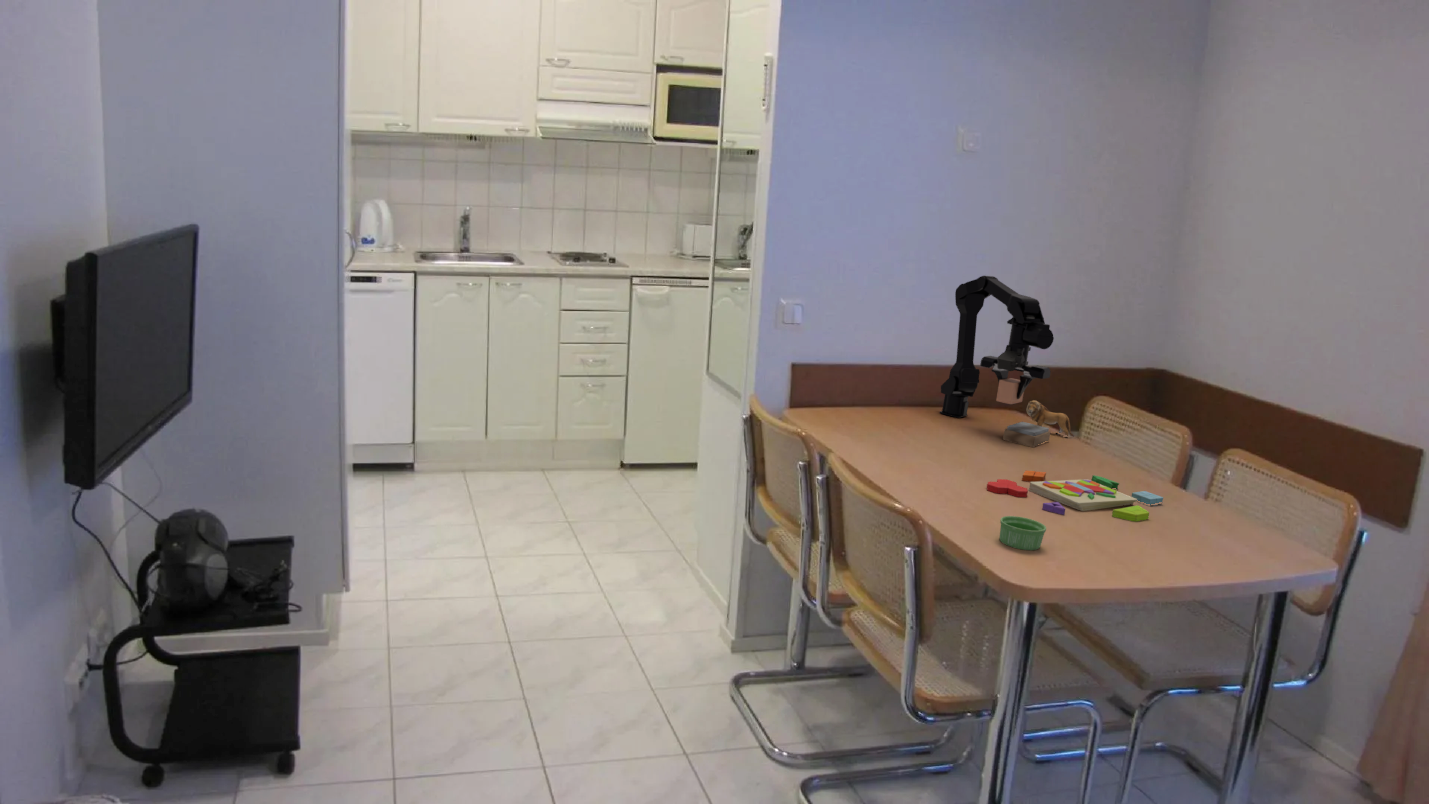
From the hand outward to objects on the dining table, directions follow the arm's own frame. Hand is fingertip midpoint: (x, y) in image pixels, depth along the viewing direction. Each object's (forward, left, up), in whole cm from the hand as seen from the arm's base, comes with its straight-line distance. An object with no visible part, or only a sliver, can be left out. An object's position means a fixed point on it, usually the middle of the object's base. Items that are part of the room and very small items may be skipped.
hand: (1010, 397), depth 326 cm
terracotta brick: (0, 0, -1) cm, 1 cm away
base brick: (+6, +2, -12) cm, 13 cm away
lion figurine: (+6, +19, -12) cm, 23 cm away
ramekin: (+41, -92, -12) cm, 102 cm away
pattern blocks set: (+37, -44, -12) cm, 59 cm away
